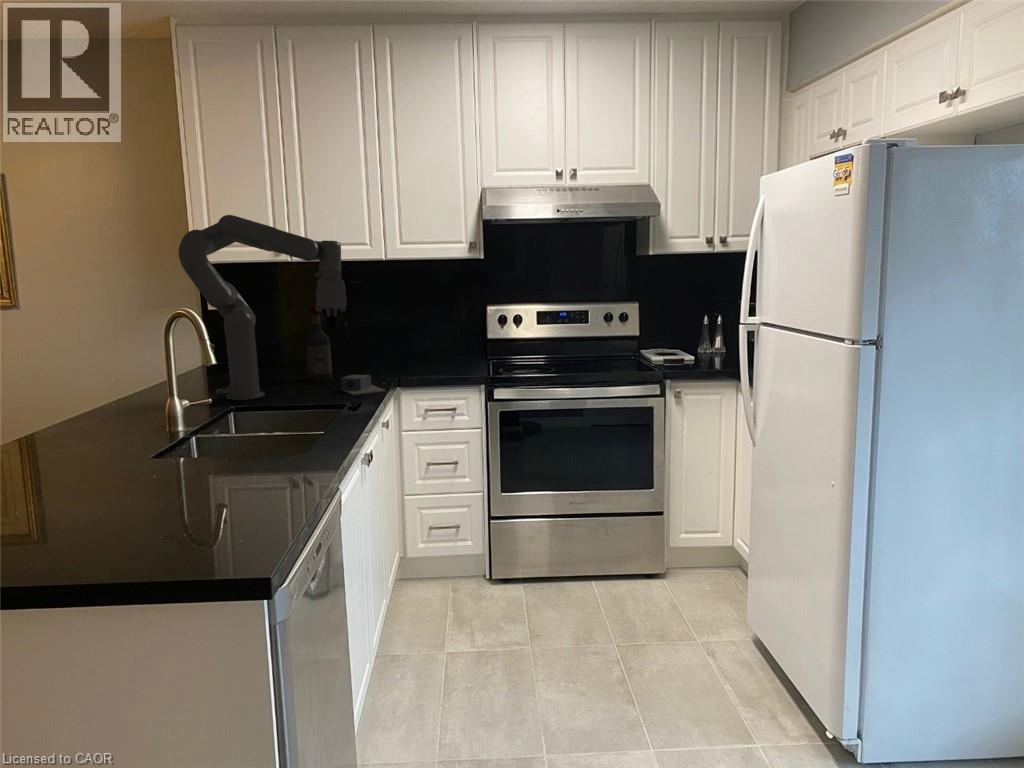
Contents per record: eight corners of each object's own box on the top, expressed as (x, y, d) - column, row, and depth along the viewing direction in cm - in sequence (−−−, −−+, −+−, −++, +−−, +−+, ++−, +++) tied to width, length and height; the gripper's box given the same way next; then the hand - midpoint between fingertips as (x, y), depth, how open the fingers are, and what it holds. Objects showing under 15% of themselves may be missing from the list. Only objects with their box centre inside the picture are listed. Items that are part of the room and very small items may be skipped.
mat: (353, 395, 245) (352, 394, 245) (340, 389, 256) (340, 388, 256) (386, 391, 251) (386, 390, 251) (372, 386, 263) (372, 385, 263)
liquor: (333, 380, 279) (328, 305, 274) (309, 382, 275) (304, 306, 270) (330, 377, 287) (325, 304, 282) (307, 379, 284) (302, 305, 279)
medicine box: (360, 390, 252) (371, 386, 260) (360, 378, 251) (371, 374, 259) (341, 389, 254) (352, 385, 262) (340, 377, 253) (352, 374, 261)
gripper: (311, 275, 239) (312, 328, 242) (354, 276, 247) (354, 328, 250) (306, 275, 246) (307, 327, 249) (347, 276, 253) (348, 326, 256)
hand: (331, 327), depth 249 cm, fingers closed
